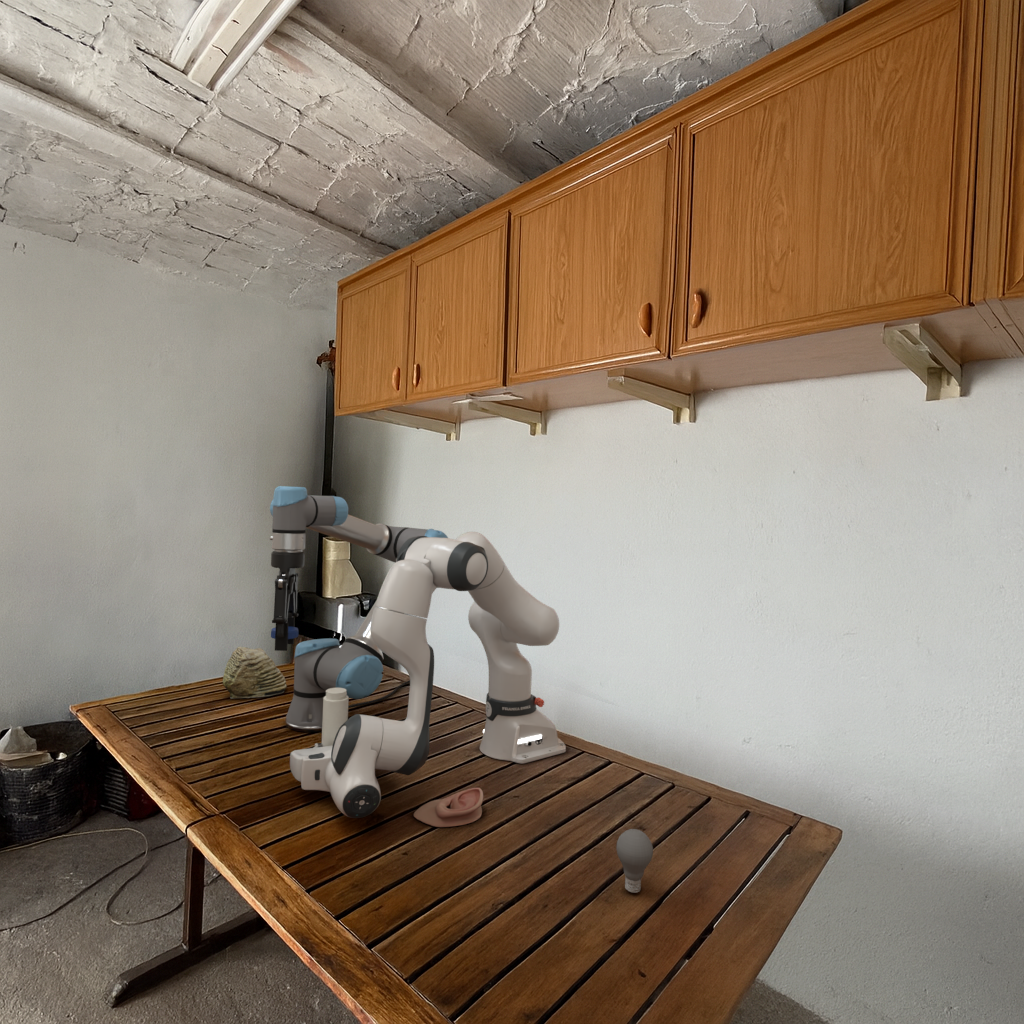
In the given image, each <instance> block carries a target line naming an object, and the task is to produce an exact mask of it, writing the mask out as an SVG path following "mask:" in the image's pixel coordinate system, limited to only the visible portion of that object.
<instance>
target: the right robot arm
mask: <svg viewBox="0 0 1024 1024" xmlns="http://www.w3.org/2000/svg"><path fill="white" fill-rule="evenodd" d="M437 589H444V590H445V589H446V590H455V591H458V592H468V594H469V595H470V597H471V598H472V599H473V602H472V604H471V605H470V608H469V609H468V615H467V616H468V618H467V620H468V625H469V627H470V629H471V630H472V631H473V632H474V633H475V635H476V636H477V637H478V639H479V641H480V643H481V644H482V646H483V650H484V652H485V656H486V659H487V667H488V691H487V693H486V697H485V717H486V718H485V725H484V729H483V730H482V733H483V734H482V738H481V741H480V744H479V747H478V748H479V751H480V752H481V754H483V755H485V756H487V757H489V758H492V759H495V760H499V761H508V762H509V761H510V762H513V763H515V764H516V763H517V764H522V765H523V764H527V763H531V762H534V761H538V760H542V759H545V758H549V757H553V756H556V755H557V756H558V755H561V754H564V753H566V752H567V746H566V744H565V742H564V741H563V740H562V739H560V738H559V737H558V731H557V727H556V725H555V723H554V722H553V721H552V720H551V719H550V718H549V717H547V715H545V714H544V713H542V711H541V710H539V709H538V708H542V707H544V705H545V700H544V699H542V698H541V697H537V696H535V695H533V694H532V680H533V679H532V678H533V668H532V665H531V663H530V661H529V660H528V658H526V657H525V656H524V655H523V653H522V652H521V651H520V649H519V647H518V645H523V646H529V647H541V646H542V647H543V646H545V647H546V646H549V645H550V644H552V643H553V642H554V640H555V639H556V638H557V636H558V635H559V631H560V618H559V615H558V613H557V612H556V610H555V609H554V608H553V607H551V606H549V605H547V604H546V603H543V602H542V601H540V600H539V599H537V597H536V596H534V595H532V594H531V593H530V592H529V591H528V590H526V589H525V587H523V586H522V585H521V584H520V583H519V582H518V581H517V579H515V577H514V576H513V574H512V572H511V571H510V570H509V567H508V566H507V565H506V562H505V561H504V559H503V558H502V556H501V555H500V553H499V551H498V550H497V548H496V547H495V546H494V545H493V544H492V542H491V541H490V540H489V539H488V538H487V537H486V536H485V535H484V534H482V533H481V532H478V531H467V532H464V533H461V534H460V535H459V536H457V537H456V538H449V537H448V538H437V537H426V536H417V537H412V538H410V539H408V540H407V541H406V542H405V543H404V544H403V545H402V547H401V549H400V551H399V553H398V556H397V562H396V563H395V562H393V564H392V565H391V566H390V568H389V570H388V571H387V574H386V576H385V577H384V580H383V582H382V584H381V587H380V590H379V592H378V595H377V598H376V600H377V601H376V600H375V602H376V605H375V606H378V607H375V608H374V612H373V616H372V621H371V628H370V632H371V636H372V639H373V641H374V643H375V644H376V645H377V647H378V648H379V649H380V650H381V651H382V654H383V653H384V655H386V656H387V657H388V658H390V659H392V660H393V661H395V662H396V663H397V664H399V665H400V666H402V668H404V669H405V671H406V672H407V674H408V676H409V680H410V683H409V691H408V692H409V693H408V701H407V702H408V703H407V712H406V718H405V719H404V720H395V719H390V718H383V717H379V716H375V715H367V714H360V713H355V714H354V715H352V716H351V717H348V720H347V721H346V722H345V723H344V724H343V725H341V727H340V728H339V730H338V732H337V734H336V736H335V739H334V742H333V746H325V747H323V745H322V742H316V743H314V746H313V747H310V748H302V749H294V750H292V751H291V752H290V753H289V770H290V773H291V774H292V776H293V777H294V779H295V780H296V781H298V782H300V786H301V789H302V790H305V791H322V792H329V793H330V796H331V798H332V800H333V802H334V804H335V806H336V808H337V809H338V811H339V812H340V813H342V814H343V815H344V816H346V817H347V818H351V819H362V818H365V817H368V816H369V815H371V814H372V813H374V811H376V810H377V809H378V808H379V805H380V803H381V799H382V793H381V787H380V783H379V780H378V778H377V777H376V770H382V771H389V772H391V773H394V774H395V773H396V774H400V775H405V776H410V775H411V776H412V774H414V773H415V772H417V771H418V770H420V769H421V768H422V767H423V766H424V765H425V764H426V762H427V760H428V758H429V753H430V740H431V739H430V737H431V736H430V720H431V710H432V699H433V698H432V697H433V688H434V675H435V673H434V672H435V652H434V648H433V647H432V646H431V644H429V642H428V640H427V634H426V633H427V629H426V628H427V622H428V618H429V614H430V608H431V603H432V597H433V594H434V593H435V591H436V590H437ZM379 607H382V608H379ZM384 608H386V609H384ZM388 609H390V610H388ZM392 610H394V611H392ZM396 611H398V612H396ZM400 612H402V613H400ZM537 707H538V708H537Z"/></svg>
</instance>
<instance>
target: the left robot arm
mask: <svg viewBox="0 0 1024 1024" xmlns="http://www.w3.org/2000/svg"><path fill="white" fill-rule="evenodd" d="M269 505H270V506H269V511H270V516H272V517H271V518H272V527H271V528H272V532H271V533H272V534H271V536H269V540H270V541H271V549H272V550H273V551H272V552H271V553H270V554H271V555H270V566H271V567H272V568H275V569H279V572H278V574H277V575H276V578H275V579H274V604H273V619H272V620H271V623H272V624H275V627H276V630H275V639H274V651H275V652H280V651H281V652H282V651H283V652H286V651H288V645H294V644H295V638H293V639H288V626H289V627H295V622H296V621H295V620H296V619H295V618H296V617H299V613H298V585H299V584H298V582H299V573H298V572H296V569H301V568H303V567H305V553H306V552H304V550H305V549H306V531H307V529H308V530H311V531H314V532H317V533H319V534H322V535H324V536H325V535H326V536H329V537H331V538H334V539H338V540H341V541H343V542H346V543H349V544H353V545H355V546H359V547H361V548H364V549H366V551H367V552H368V553H370V554H371V555H373V556H374V555H375V556H376V557H379V558H383V559H385V560H387V561H390V562H392V563H396V562H397V556H398V553H399V551H400V549H401V547H402V545H403V544H404V543H405V542H406V541H407V540H408V539H410V538H412V537H417V536H426V537H437V538H449V537H448V535H447V534H446V533H445V532H444V531H442V530H440V529H439V530H438V529H434V528H428V529H427V528H416V527H407V526H392V525H387V524H384V523H372V522H370V521H367V520H364V519H362V518H359V517H357V516H354V515H351V514H349V505H348V503H347V501H346V499H344V498H343V497H342V496H335V495H311V494H308V489H307V488H306V486H305V487H304V486H287V485H278V486H276V487H275V488H274V492H273V498H272V500H271V502H270V504H269ZM376 601H377V599H375V602H374V604H373V605H372V607H371V608H370V610H369V612H368V613H367V615H366V616H365V618H364V620H363V621H362V623H361V624H360V626H359V628H358V629H357V631H356V633H355V634H354V635H351V636H348V637H346V638H345V640H344V641H343V643H342V644H340V641H339V639H337V638H331V637H329V638H317V639H316V638H315V639H308V640H304V641H300V642H299V643H298V644H297V645H296V646H295V650H294V651H295V652H294V655H293V658H294V672H293V695H292V696H293V697H292V699H291V702H290V704H289V708H288V711H287V713H286V715H285V726H286V728H287V729H289V730H291V731H294V732H295V731H296V732H301V733H316V732H322V720H323V698H324V697H325V696H326V690H327V689H330V688H344V689H346V692H347V696H348V697H349V699H352V700H362V699H365V698H367V697H370V696H371V695H372V694H373V693H374V692H375V691H376V690H377V689H378V687H379V686H380V684H381V682H382V679H383V676H384V675H383V672H384V665H383V661H384V654H383V652H382V651H381V650H380V649H379V648H378V647H377V645H376V644H375V643H374V641H373V639H372V636H371V632H370V628H371V621H372V616H373V612H374V608H375V607H378V606H375V605H376ZM379 608H382V607H379ZM384 609H386V608H384ZM388 610H390V609H388ZM392 611H394V610H392ZM396 612H398V611H396ZM400 613H402V612H400ZM407 684H410V679H409V680H406V681H404V682H402V683H400V684H399V685H398V686H396V687H395V688H394V690H392V691H391V692H389V693H388V694H386V695H383V696H382V697H379V698H376V699H372V700H368V701H363V702H358V703H357V702H356V703H352V704H348V709H351V708H356V707H359V706H365V705H371V704H374V703H378V702H381V701H383V700H385V699H387V698H389V697H391V696H392V695H394V694H395V693H396V692H397V691H398V690H399V689H401V688H402V687H404V686H405V685H407Z"/></svg>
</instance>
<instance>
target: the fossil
mask: <svg viewBox="0 0 1024 1024" xmlns="http://www.w3.org/2000/svg"><path fill="white" fill-rule="evenodd" d="M222 676H223V677H222V685H223V687H224V688H225V690H226V691H228V693H229V698H230V699H250V698H264V697H271V696H275V695H281V694H284V693H285V691H286V689H287V687H288V686H287V680H286V678H285V676H284V674H283V673H282V672H281V669H279V668H278V667H277V665H276V663H275V662H274V660H273V659H272V658H271V657H270V656H269V655H268V654H267V653H266V652H265V650H264V649H263V648H260V647H258V648H251V647H247V646H246V647H245V646H238V647H237V648H236V649H235V650H233V651H232V653H231V656H230V657H229V659H228V660H227V663H226V666H225V668H224V671H223V675H222Z"/></svg>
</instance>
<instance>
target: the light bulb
mask: <svg viewBox="0 0 1024 1024" xmlns="http://www.w3.org/2000/svg"><path fill="white" fill-rule="evenodd" d="M615 849H616V854H617V857H618V859H619V861H620V863H621V865H622V867H623V873H624V874H623V875H624V876H625V878H624V888H625V890H627V891H628V892H630V893H634V894H635V893H639V892H640V891H641V889H642V887H641V886H642V879H643V877H644V875H645V871H646V868H647V867H648V866H649V864H650V863H651V861H652V859H653V855H654V847H653V843H652V841H651V838H649V836H648V835H647V834H646V833H645V832H643V831H642V830H641V829H636V828H629V829H627V830H625V831H623V832H622V833H621V834H620V835H619V837H618V839H617V841H616V847H615Z"/></svg>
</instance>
